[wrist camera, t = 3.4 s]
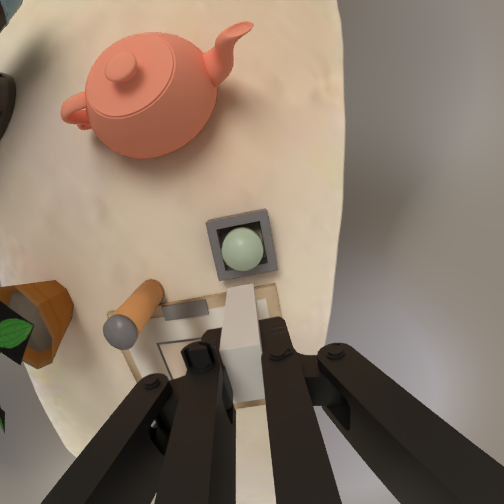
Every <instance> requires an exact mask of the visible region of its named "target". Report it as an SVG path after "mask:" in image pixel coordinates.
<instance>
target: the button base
mask: <svg viewBox="0 0 504 504" xmlns="http://www.w3.org/2000/svg"><path fill="white" fill-rule="evenodd" d="M256 221H259V223H260V228H261V233H262V239H263V244H264V249H265V255H266V258H262V259H261V261H260V262H259V264H258V265H257V266H255V267H254V268H252V269H250V270H247V271H238V270H235V269H233V268H231V267H229V266H228V265H226V262H225V261H224V259H223V256H222V243H221V238H220V234H219V229H222V228H226V227H231V226H236V225H241V224H246V223H251V222H256ZM206 227H207V231H208V236H209V240H210V245H211V249H212V253H213V258H214V262H215V266H216V270H217V275H218V279H219V281H222V280H228V279H233V278H238V277H243V276H248V275H253V274H258V273H264V272H269V271H274V270H278V267H277V262H276V256H275V251H274V245H273V240H272V234H271V229H270V223H269V218H268V212H267V210H266V209H261V210H255V211H250V212H245V213H240V214H235V215H230V216H225V217H221V218H216V219H211V220H208V221H207V222H206Z"/></svg>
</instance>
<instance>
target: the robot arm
mask: <svg viewBox="0 0 504 504" xmlns="http://www.w3.org/2000/svg"><path fill="white" fill-rule="evenodd" d="M22 2H23V0H0V33H1V31H2V30H3V29H4V27H6V26H7V25H8V23H9V21H10V19H11V18H12V17H13V16H14V14H15V13H16V12H17V10H18V9H19V8H20V6H21V5H22ZM15 96H16V86H15V82H14V79H13V78H12V77H11V76H10V75H7V74H4V73H0V139H1V137H2V136H3V134H4V132H5V130H6V128H7V125H8V123H9V120H10V118H11V115H12V111H13V108H14V103H15ZM181 355H182V358H183V360H184V363H185V365H186V368H187V371H186V375H184V376H182V377H179V378H176V379H173V380H169V379H168V377H167V376H166V375H165V374H161V373H153V374H149V375H147V376H145V377H143V378H142V379H141V380H140V381H139V382H138V383H137V384H136V385H135V386H134V388H133V389H132V390H131V391H130V393H129V394H128V395H127V396H126V398H125V399H124V400H123V401H122V403H121V404H120V405H119V406H118V407H117V409H116V410H115V411H114V412H113V414H112V415H111V416H110V417H109V419H108V420H107V421H106V422H105V424H104V425H103V426H102V427H101V429H100V430H99V431H98V432H97V434H96V435H95V436H94V437H93V438H92V440H91V441H90V442H89V443H88V445H87V446H86V447H85V448H84V450H83V451H82V452H81V453H80V455H79V456H78V457H77V458H76V460H75V461H74V462H73V464H72V465H71V466H70V467H69V468H68V470H67V471H66V472H65V474H64V475H63V476H62V477H61V479H60V480H59V481H58V482H57V484H56V485H55V486H54V487H53V489H52V490H51V491H50V492H49V494H48V495H47V496H46V498H45V499H44V500H43V501H42V503H41V504H151V502H152V500H153V498H154V496H155V494H156V492H157V494H156V499H155V503H154V504H236V410H235V407H234V404H233V396H234V399H235V402H236V403H238V402H245V401H252V400H258V399H264V398H265V402H266V412H267V421H268V430H269V439H270V449H271V458H272V467H273V476H274V485H275V494H276V504H342V502H341V499H340V496H339V492H338V489H337V485H336V482H335V479H334V475H333V471H332V468H331V465H330V461H329V458H328V454H327V451H326V448H325V444H324V441H323V438H322V434H321V431H320V428H319V424H318V421H317V418H316V414H315V411H314V408H313V406H322V408H323V410H324V411H325V413H326V414H327V415H328V416H329V418H330V419H331V420H332V422H333V423H334V424H335V425H336V427H337V428H338V429H339V430H340V432H341V433H342V434H343V435H344V437H345V438H346V439H347V440H348V442H349V443H350V444H351V445H352V447H353V448H354V449H355V450H356V451H357V453H358V454H359V455H360V456H361V457H362V459H363V460H364V461H365V462H366V464H367V465H368V466H369V467H370V468H371V470H372V471H373V472H374V473H375V474H376V476H377V477H378V478H379V479H380V480H381V482H382V483H383V484H384V485H385V486H386V487H387V489H388V490H389V491H390V492H391V493H392V494H393V495H394V496H395V498H396V499H397V500H398V501H399V502H400V503H401V504H504V466H502V465H501V464H500V463H498V462H497V461H496V460H494V459H493V458H492V457H490V456H489V455H488V454H487V453H485V452H484V451H483V450H481V449H480V448H479V447H477V446H476V445H475V444H473V443H472V442H471V441H469V440H468V439H467V438H466V437H464V436H463V435H462V434H460V433H459V432H458V431H457V430H456V429H454V428H453V427H452V426H450V425H449V424H448V423H447V422H445V421H444V420H443V419H441V418H440V417H439V416H438V415H436V414H435V413H434V412H432V411H431V410H430V409H429V408H427V407H426V406H425V405H423V404H422V403H421V402H420V401H419V400H417V399H416V398H415V397H414V396H412V395H411V394H410V393H409V392H407V391H406V390H405V389H404V388H402V387H401V386H400V385H398V384H397V383H396V382H395V381H394V380H392V379H391V378H390V377H389V376H387V375H386V374H384V373H383V372H382V371H381V370H380V369H379V368H377V367H376V366H375V365H374V364H372V363H371V362H370V361H369V360H367V359H366V358H365V357H364V356H362V355H361V354H360V353H359V352H357V351H356V350H355V349H354V348H352V347H351V346H349V345H347V344H344V343H332V344H328V345H326V346H324V347H322V348H321V349H320V350H319V351H318V354H317V355H303V354H300V353H298V352H296V350H295V349H294V348H293V345H292V342H291V339H290V336H289V332H288V329H287V326H286V323H285V320H284V319H282V318H281V317H280V316H277V317H272V318H267V319H260V314H259V309H258V305H257V300H256V295H255V290H254V285H253V283H252V284H247V285H242V286H236V287H231V288H227V295H226V303H225V310H224V318H223V325H222V327H221V328H215V329H208V330H207V331H206V332H205V333H204V334H203V335H202V338H201V341H196V342H193V343H190V344H188V345H186V346H185V347H184V348H183V349H182V350H181ZM154 421H155V422H156V423H155V424H154V426H153V427H151V425H152V423H153V422H154Z"/></svg>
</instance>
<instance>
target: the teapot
mask: <svg viewBox="0 0 504 504" xmlns="http://www.w3.org/2000/svg"><path fill="white" fill-rule="evenodd" d="M252 28H253V23H252V22H249V21H246V22H240V23H237V24H234V25H232V26H230V27H228V28H227V29H225V30H224V31H223V32H222V33H221V34H220V35H219V36H218V37H217V39H216V41H215V46H214V47H213V48H212V49H211V50H209V51H208V52H206V53H203V52H202V51H201V50H200V49H199V48H198V47H196V46H195V45H194V44H193V43H191V42H189V41H188V40H186V39H184V38H181V37H179V36H176V35H172V34H168V33H159V32H156V33H140V34H135V35H132V36H128V37H126V38H123V39H121V40H119V41H117V42H116V43H114V44H112V45H111V46H110V47H108V48H107V49H106V50H105V51H104V52H103V53H102V54H101V55H100V56H99V57H98V59H97V60H96V61H95V63H94V64H93V66H92V68H91V70H90V72H89V75H88V78H87V82H86V87H85V92H82V93H79V94H76V95H74V96H72V97H70V98H69V99H67V100H66V101H65V102H64V103H63V105H62V107H61V117H62V119H63V121H64V122H66V123H70V124H77V126H78V127H79V129H81V130H88V129H93V131H94V133H95V134H96V135H97V137H98V138H99V139H100V140H101V141H102V142H103V143H104V144H105V145H106V146H107V147H109V148H110V149H112V150H113V151H115V152H117V153H119V154H122V155H124V156H128V157H132V158H139V159H145V158H154V157H159V156H162V155H166V154H168V153H171V152H173V151H175V150H177V149H179V148H180V147H182V146H184V145H185V144H186V143H188V142H189V141H190V140H192V139H193V138H194V137H195V136H196V135H197V134H198V133H199V132H200V131H201V129H202V128H203V127H204V125H205V124H206V123H207V121H208V119H209V117H210V116H211V114H212V111H213V108H214V106H215V102H216V97H217V86H218V85H219V84H220V83H221V82H222V81H224V80H225V79H226V78H227V77H228V76H229V74H230V72H231V70H232V67H233V48H234V45H235V43H236V42H237V40H238V39H240V38H241V37H242V36H243V35H245V34H246V33H248V32H249V31H250V30H251V29H252ZM84 108H86V110H81V109H84Z"/></svg>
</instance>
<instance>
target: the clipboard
mask: <svg viewBox="0 0 504 504" xmlns="http://www.w3.org/2000/svg"><path fill="white" fill-rule="evenodd" d="M254 290H255V295H256V300H257V305H258V309H259V314H260V319H267V318H272V317H277V316H280V317H281V313H280V308H279V302H278V296H277V291H276V285H275V283H273V284H268V285H263V286H257V287H254ZM226 295H227V292H226V293H221V294H215V295H210V296H204V297H198V298H193V299H187V300H181V301H175V302H169V303H163V304H159V305H158V307H157V308H156V310H155V311H154V313H153V314H152V316H151V317H150V319H149V320H148V322H147V324H146V325H145V327H144V328H143V330H142V331H141V333H140V335H139V336H138V338H137V340H136V342H135V344H134V345H133V347H132V348H130V349H128V350H122V352H123V355H124V357H125V359H126V361H127V363H128V365H129V368H130V370H131V372H132V374H133V376H134V378H135V380H136V382H137V383H138V382H139V381H140V380H141V379H142V378H143V377H145V376H147V375H149V374H153V373H161V374H165V375H166V376H167V377H168V379H169V380H173V379H176V378H179V377H182V376H184V375H186V371H187V368H186V365H185V363H184V360H183V358H182V355H181V350H182V349H183V348H184V347H185V346H186V345H188V344H190V343H193V342H196V341H201V338H202V335H203V334H204V333H205V332H206V331H207V330H208V329H215V328H221V327H222V325H223V318H224V310H225V303H226ZM115 312H116V311H110V312H108V313H107V316H108V319H109V318H110V317H111V316H112V315H113V314H114V313H115ZM233 404H234V407H235V409H237V408H244V407H251V406H258V405H264V404H266V402H265V398H264V399H258V400H252V401H245V402H238V403H236V402H235V399H234V396H233Z"/></svg>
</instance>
